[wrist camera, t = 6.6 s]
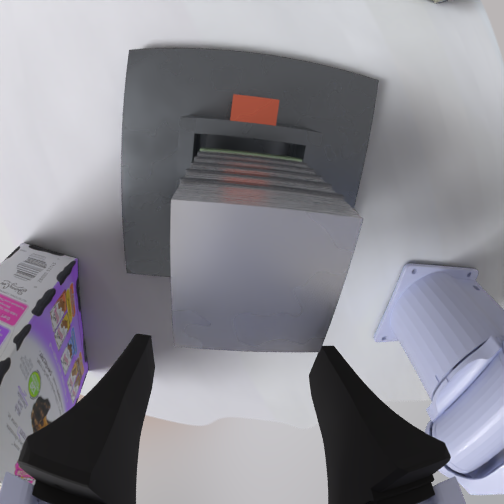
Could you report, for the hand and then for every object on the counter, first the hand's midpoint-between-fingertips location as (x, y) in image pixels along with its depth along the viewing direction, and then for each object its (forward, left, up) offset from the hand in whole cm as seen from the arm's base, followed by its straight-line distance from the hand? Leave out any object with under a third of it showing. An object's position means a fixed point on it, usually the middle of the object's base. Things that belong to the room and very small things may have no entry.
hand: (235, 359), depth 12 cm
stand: (0, -6, -9) cm, 11 cm away
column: (0, -6, -4) cm, 7 cm away
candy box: (+15, +7, -9) cm, 19 cm away
